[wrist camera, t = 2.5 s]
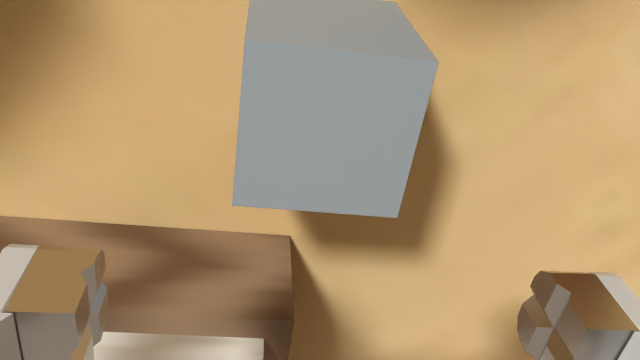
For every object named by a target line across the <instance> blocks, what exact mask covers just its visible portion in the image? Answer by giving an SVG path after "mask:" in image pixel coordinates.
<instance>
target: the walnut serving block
mask: <svg viewBox="0 0 640 360" xmlns="http://www.w3.org/2000/svg"><path fill="white" fill-rule="evenodd" d="M9 244H22V245H38V246H42V245H43V246H58V247H72V248H87V249H101V250H102V251H103V252H104V255H105V264H106V269H105V272H104V275H103V278H102V281H101V282H102V283H103V284H104V285H105V286H106V287H107V291H108V308H107V316H106V323H105V328H104V332H103V335H102V339H101V341H100V342H99V343H97V344H96V345H95V346H94V347H93V350H94V360H287V359H288V353H289V347H290V340H291V334H292V328H293V322H294V314H293V293H292V272H291V250H290V236H280V235H266V234H251V233H236V232H222V231H207V230H193V229H178V228H163V227H149V226H134V225H119V224H105V223H90V222H75V221H61V220H46V219H32V218H17V217H2V216H0V253H1V251H2V250H3V249H4V248H5V247H6V246H8V245H9Z"/></svg>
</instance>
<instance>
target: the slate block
mask: <svg viewBox="0 0 640 360" xmlns="http://www.w3.org/2000/svg"><path fill="white" fill-rule="evenodd" d="M438 63H439V62H438V61H437V59H436V58H435V56H434V55H433V54H432V52H431V51H430V49H429V48H428V47H427V45H426V44H425V43H424V41H423V40H422V38H421V37H420V36H419V34H418V33H417V31H416V30H415V29H414V27H413V26H412V24H411V23H410V22H409V20H408V19H407V18H406V16H405V15H404V13H403V12H402V11H401V9H400V8H399V6H398V5H397V4H396V2H391V1H383V0H250V2H249V10H248V18H247V26H246V34H245V43H244V56H243V70H242V83H241V96H240V110H239V123H238V136H237V149H236V163H235V176H234V189H233V203H232V206H244V207H257V208H271V209H284V210H297V211H311V212H324V213H337V214H350V215H364V216H377V217H390V218H397V217H398V213H399V210H400V206H401V202H402V198H403V195H404V191H405V187H406V183H407V180H408V176H409V172H410V168H411V164H412V161H413V157H414V153H415V149H416V146H417V142H418V138H419V134H420V131H421V127H422V123H423V119H424V116H425V112H426V108H427V104H428V100H429V97H430V93H431V89H432V85H433V82H434V78H435V74H436V70H437V67H438Z"/></svg>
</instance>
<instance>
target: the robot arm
mask: <svg viewBox="0 0 640 360" xmlns="http://www.w3.org/2000/svg"><path fill="white" fill-rule="evenodd" d="M105 269H106V264H105V255H104V252H103V251H102V250H101V249H87V248H72V247H58V246H43V245H42V246H38V245H22V244H9V245H8V246H6V247H5V248H4V249H3V250H2V251H1V253H0V360H94V350H93V347H94V346H95V345H96V344H97V343H99V342H100V341H101V339H102V335H103V332H104V328H105V323H106V316H107V308H108V291H107V287H106V286H105V285H104V284H103V283H102V282H101V281H102V278H103V275H104V272H105ZM530 287H531V289H532V292H533V294H534V295H533V296H532V297H530V298H529V299H528V300H526V301H525V302H524V303H523V304H522V306H521V309H520V312H519V314H518V328H517V330H518V334H519V338H520V341H521V343H522V345H523V347H524V349H525V351H526V352H528V353H529V354H530V355H532V356H533V357H534V358H535V359H537V360H640V300H639V299H638V297H637V296H636V295H635V294H634V293H633V291H632V290H631V289H630V288H629V287H628V285H627V284H626V283H625V282H624V281H623V279H622V278H621V277H620V276H618V275H616V274H614V273H608V272H588V273H584V272H560V271H540V272H539V273H538V274H537V275H536V276H535V277H534V279H533V281H532V283H531V286H530Z"/></svg>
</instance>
